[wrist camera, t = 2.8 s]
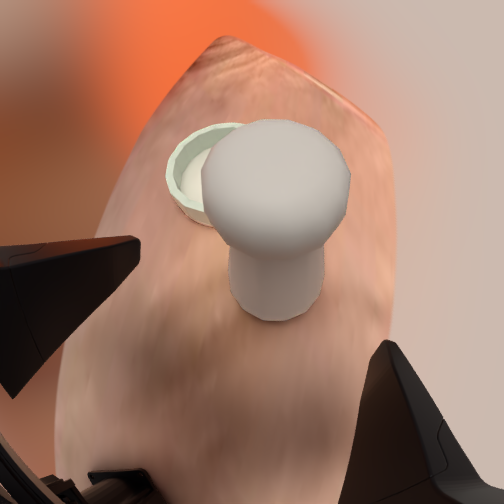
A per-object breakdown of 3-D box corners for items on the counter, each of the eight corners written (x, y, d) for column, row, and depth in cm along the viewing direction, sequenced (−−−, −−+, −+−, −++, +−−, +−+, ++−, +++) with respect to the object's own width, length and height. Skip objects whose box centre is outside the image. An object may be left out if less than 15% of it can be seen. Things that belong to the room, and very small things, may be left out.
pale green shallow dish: (193, 245, 20) (182, 232, 18) (166, 165, 23) (157, 148, 21) (299, 201, 21) (301, 183, 18) (254, 130, 24) (252, 111, 21)
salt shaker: (296, 232, 20) (317, 78, 8) (331, 303, 18) (427, 210, 6) (222, 263, 19) (149, 130, 7) (252, 338, 17) (200, 310, 5)
